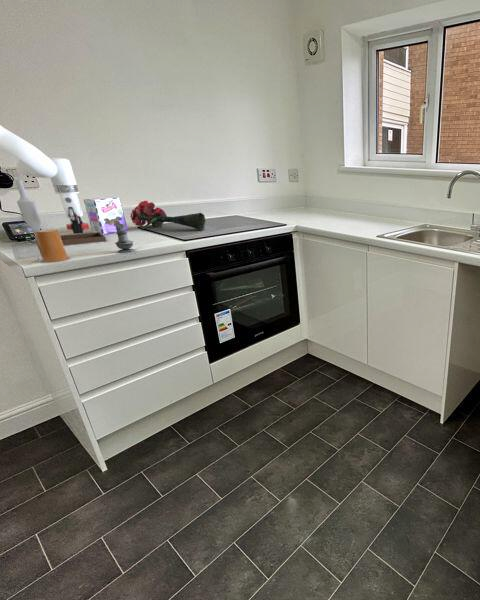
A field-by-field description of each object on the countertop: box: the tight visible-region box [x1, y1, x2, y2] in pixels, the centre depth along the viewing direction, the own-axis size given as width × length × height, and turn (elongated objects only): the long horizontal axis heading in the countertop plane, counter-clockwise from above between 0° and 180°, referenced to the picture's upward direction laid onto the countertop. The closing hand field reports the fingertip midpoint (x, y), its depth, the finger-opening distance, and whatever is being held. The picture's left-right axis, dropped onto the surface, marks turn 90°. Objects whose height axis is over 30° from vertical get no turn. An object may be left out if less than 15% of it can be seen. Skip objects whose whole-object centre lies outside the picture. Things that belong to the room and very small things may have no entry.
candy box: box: [83, 196, 128, 236], centre depth 171 cm, size 14×6×16 cm, turn 171°
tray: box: [60, 232, 107, 246], centre depth 154 cm, size 15×13×2 cm
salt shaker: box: [114, 222, 135, 254], centre depth 139 cm, size 6×6×12 cm
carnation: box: [130, 200, 206, 231], centre depth 186 cm, size 16×18×35 cm
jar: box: [34, 228, 69, 263], centre depth 124 cm, size 7×7×11 cm
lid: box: [65, 222, 90, 231], centre depth 153 cm, size 7×7×2 cm
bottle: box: [14, 179, 44, 243], centre depth 148 cm, size 5×5×25 cm
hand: (79, 231), depth 153 cm, fingers closed on lid, 7 cm apart
